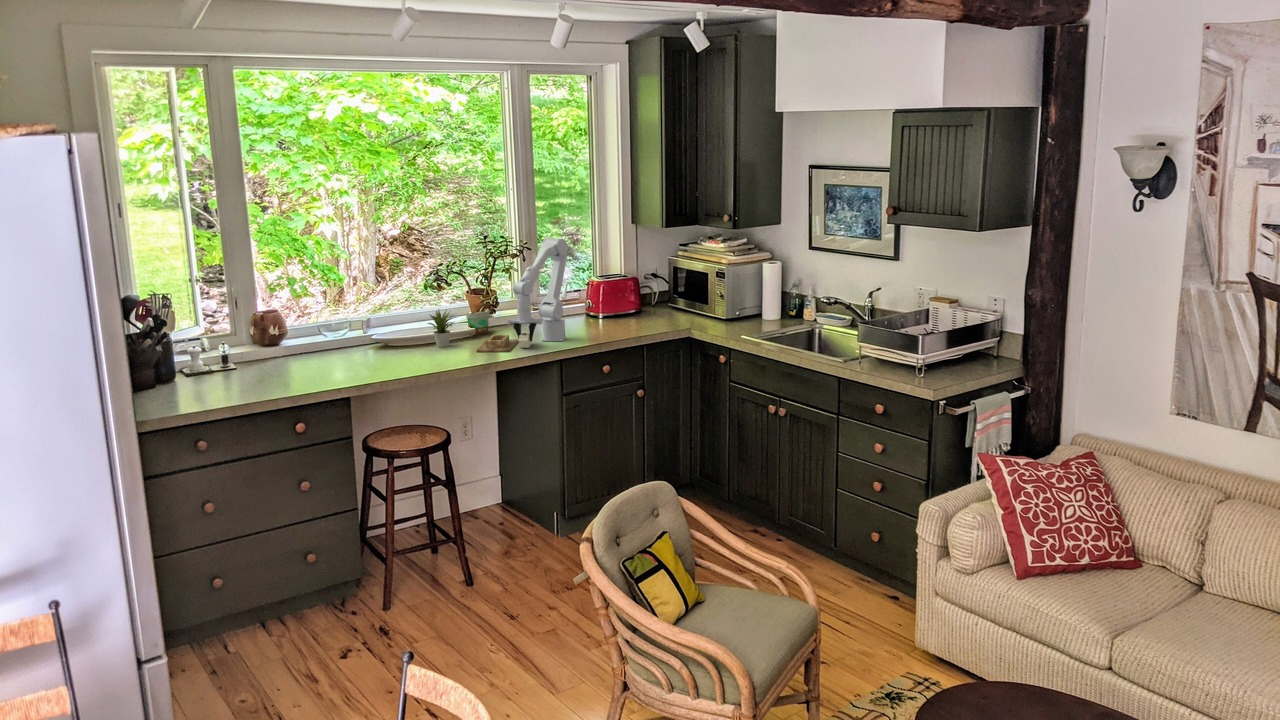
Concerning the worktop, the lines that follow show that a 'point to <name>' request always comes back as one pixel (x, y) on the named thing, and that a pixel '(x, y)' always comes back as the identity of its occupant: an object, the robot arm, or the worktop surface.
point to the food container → (479, 321)
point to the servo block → (524, 340)
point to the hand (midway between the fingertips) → (525, 340)
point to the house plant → (442, 328)
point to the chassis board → (498, 344)
